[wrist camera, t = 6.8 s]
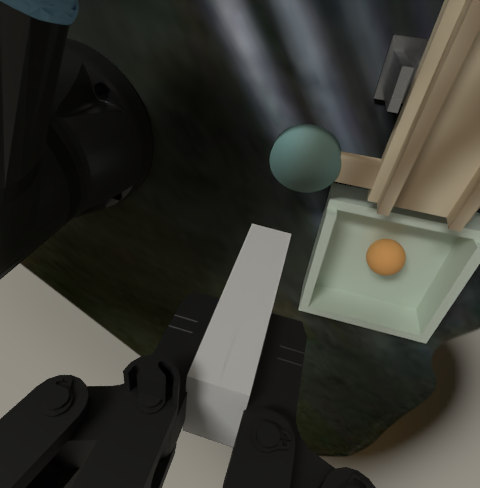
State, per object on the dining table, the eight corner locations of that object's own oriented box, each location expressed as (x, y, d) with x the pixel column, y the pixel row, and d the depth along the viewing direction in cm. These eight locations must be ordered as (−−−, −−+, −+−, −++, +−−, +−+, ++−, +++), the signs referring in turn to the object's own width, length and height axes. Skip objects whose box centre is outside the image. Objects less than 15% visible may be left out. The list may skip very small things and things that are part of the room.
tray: (303, 283, 38) (298, 310, 35) (331, 182, 31) (328, 205, 28) (420, 312, 36) (426, 343, 33) (480, 213, 29) (494, 241, 26)
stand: (373, 96, 26) (377, 124, 21) (393, 33, 24) (402, 48, 19) (514, 120, 25) (554, 156, 20) (551, 56, 22) (606, 78, 17)
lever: (268, 177, 28) (260, 201, 26) (309, -122, 16) (298, -120, 14) (463, 218, 26) (469, 247, 24) (679, -91, 14) (727, -83, 12)
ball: (366, 239, 33) (359, 272, 33) (375, 231, 30) (367, 267, 30) (401, 247, 33) (395, 281, 32) (414, 239, 30) (407, 277, 29)
